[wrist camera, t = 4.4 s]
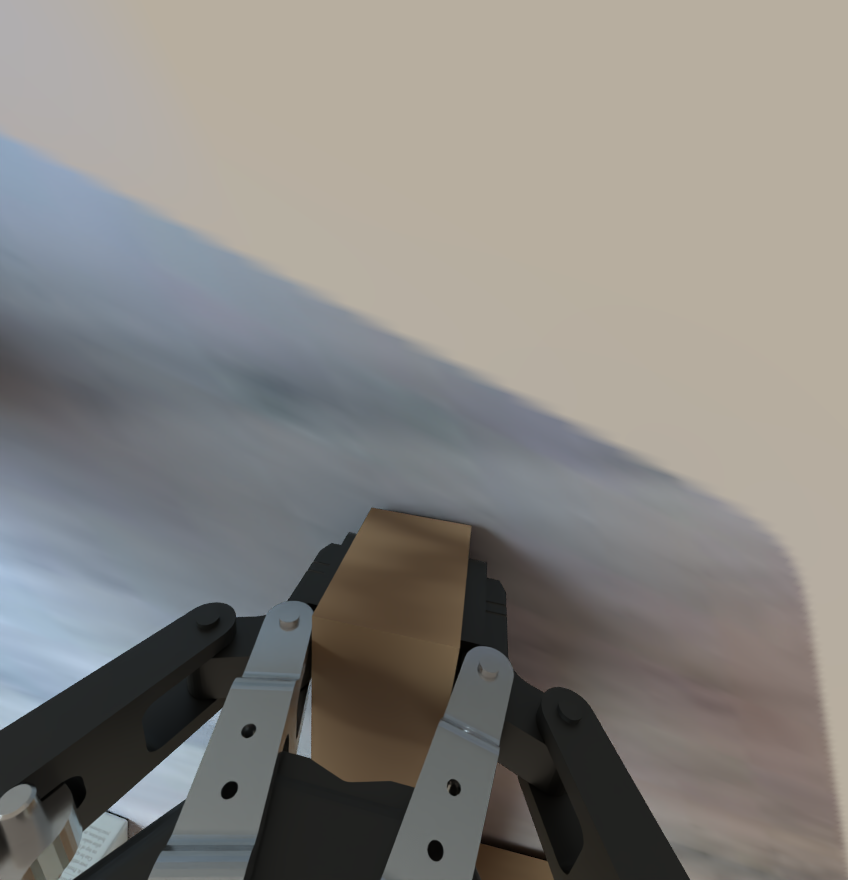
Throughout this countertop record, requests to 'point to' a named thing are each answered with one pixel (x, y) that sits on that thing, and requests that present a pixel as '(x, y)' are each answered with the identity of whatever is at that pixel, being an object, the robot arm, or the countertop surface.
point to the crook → (394, 659)
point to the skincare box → (97, 843)
